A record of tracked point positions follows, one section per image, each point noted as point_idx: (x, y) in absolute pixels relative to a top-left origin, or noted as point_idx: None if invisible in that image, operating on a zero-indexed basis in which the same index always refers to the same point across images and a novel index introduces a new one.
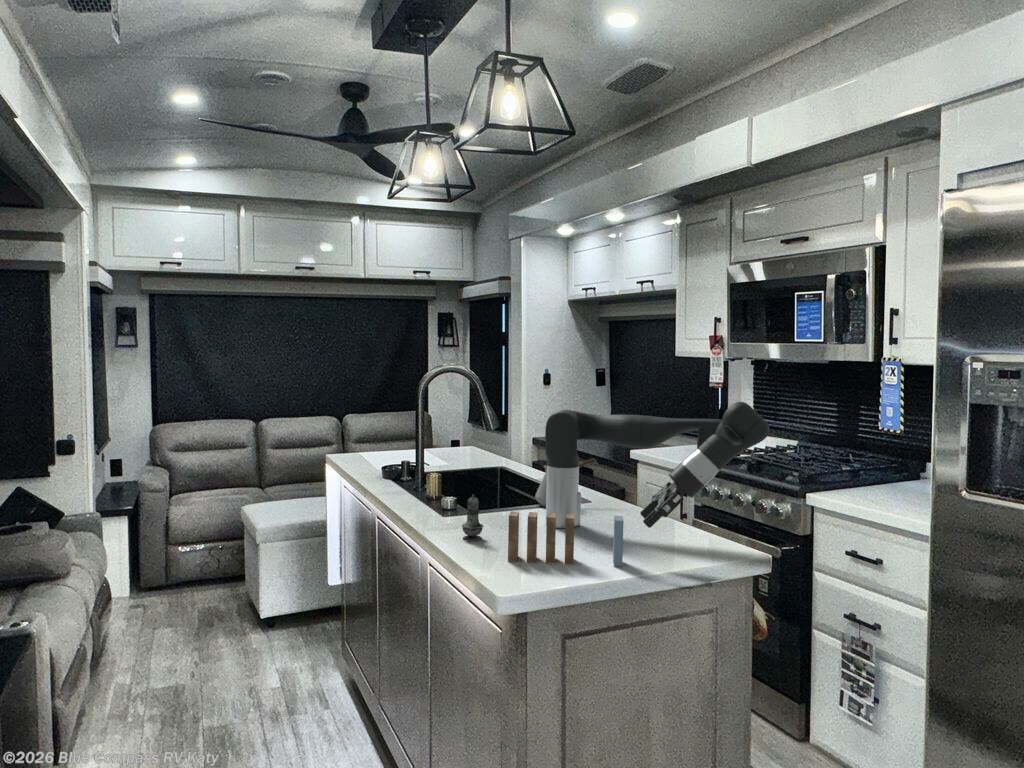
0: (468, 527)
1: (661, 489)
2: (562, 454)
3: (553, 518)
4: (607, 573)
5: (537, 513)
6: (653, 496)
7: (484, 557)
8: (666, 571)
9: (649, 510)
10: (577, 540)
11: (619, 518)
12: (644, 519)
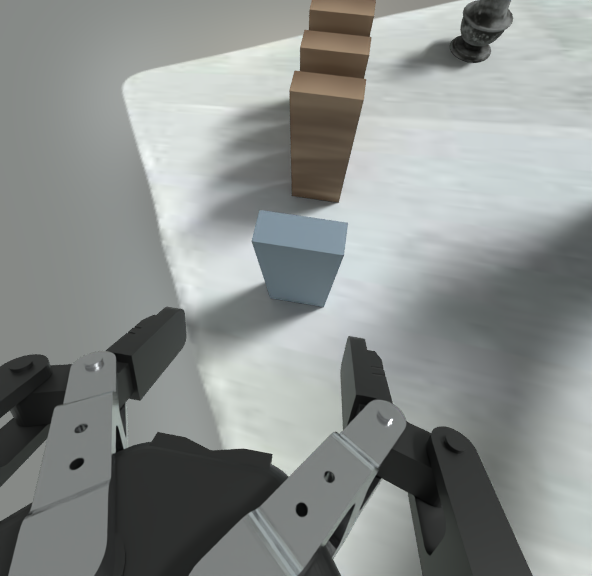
0: (466, 8)
1: (498, 573)
2: None
3: (300, 46)
4: (222, 254)
5: (371, 19)
6: (448, 443)
7: None
8: (226, 411)
9: (346, 384)
10: (513, 233)
11: (293, 233)
12: (170, 310)
